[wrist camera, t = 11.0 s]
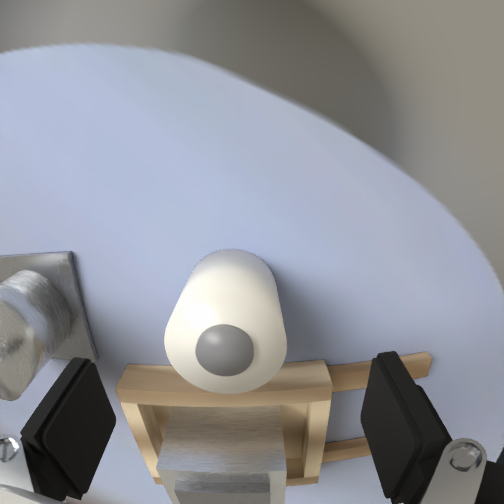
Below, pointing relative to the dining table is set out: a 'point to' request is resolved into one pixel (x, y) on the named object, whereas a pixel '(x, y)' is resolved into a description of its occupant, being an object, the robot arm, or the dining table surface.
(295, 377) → the wooden tray with handles
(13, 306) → the metal knob on plate
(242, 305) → the white rounded block
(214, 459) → the grey cinder block
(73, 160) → the dining table surface
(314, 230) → the dining table surface
